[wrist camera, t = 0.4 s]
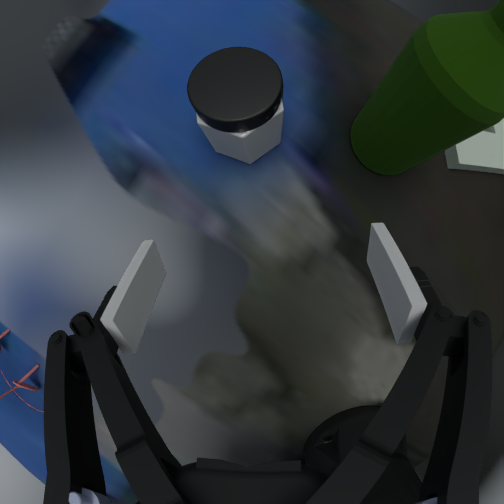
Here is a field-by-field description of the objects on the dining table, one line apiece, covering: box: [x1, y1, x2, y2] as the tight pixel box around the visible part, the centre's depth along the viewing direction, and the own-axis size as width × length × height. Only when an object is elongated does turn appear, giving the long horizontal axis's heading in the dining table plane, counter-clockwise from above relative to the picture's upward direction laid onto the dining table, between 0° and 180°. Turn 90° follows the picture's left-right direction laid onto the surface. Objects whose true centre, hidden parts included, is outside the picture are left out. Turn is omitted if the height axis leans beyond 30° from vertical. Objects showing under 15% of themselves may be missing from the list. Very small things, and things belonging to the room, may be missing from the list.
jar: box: [187, 47, 284, 164], centre depth 27 cm, size 9×8×12 cm
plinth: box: [445, 118, 504, 174], centre depth 29 cm, size 16×14×3 cm
